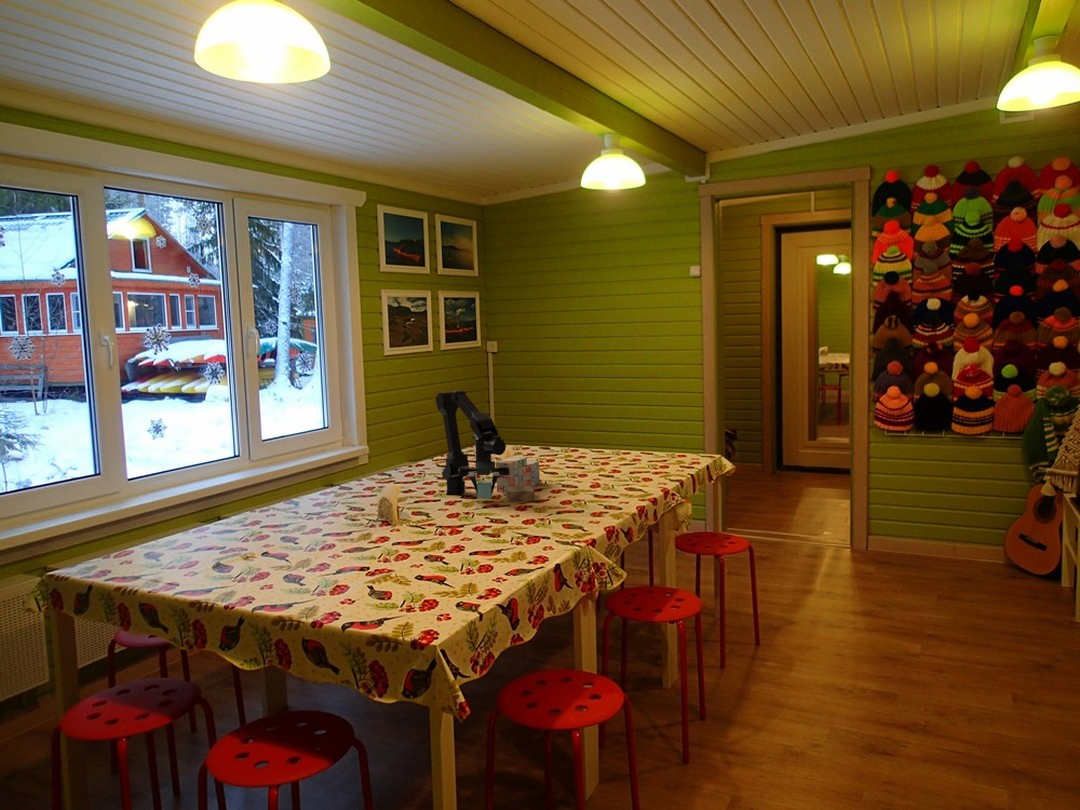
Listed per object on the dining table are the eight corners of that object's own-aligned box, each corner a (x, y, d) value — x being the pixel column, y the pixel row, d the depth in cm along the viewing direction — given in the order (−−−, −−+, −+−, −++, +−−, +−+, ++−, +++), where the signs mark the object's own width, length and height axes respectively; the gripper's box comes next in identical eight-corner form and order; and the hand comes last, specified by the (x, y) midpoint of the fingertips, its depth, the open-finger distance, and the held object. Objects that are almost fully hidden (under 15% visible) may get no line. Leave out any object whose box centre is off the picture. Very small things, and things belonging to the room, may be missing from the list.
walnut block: (507, 502, 298) (507, 492, 298) (506, 496, 308) (505, 486, 308) (534, 501, 299) (534, 491, 299) (532, 495, 309) (532, 485, 309)
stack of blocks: (527, 482, 333) (526, 452, 332) (540, 483, 330) (539, 453, 328) (496, 492, 315) (495, 461, 314) (509, 494, 312) (509, 462, 311)
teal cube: (477, 498, 296) (477, 484, 296) (478, 495, 301) (477, 482, 301) (491, 497, 296) (490, 484, 296) (491, 494, 301) (491, 481, 301)
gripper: (456, 456, 289) (457, 499, 291) (508, 455, 289) (509, 498, 291) (458, 451, 300) (459, 492, 302) (509, 449, 300) (510, 491, 302)
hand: (484, 493), depth 299 cm, fingers closed on teal cube, 5 cm apart
